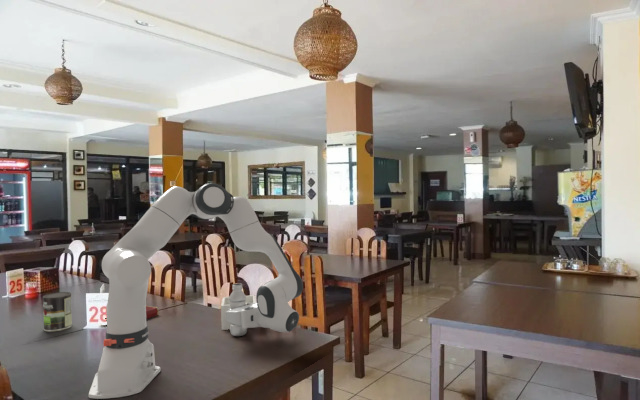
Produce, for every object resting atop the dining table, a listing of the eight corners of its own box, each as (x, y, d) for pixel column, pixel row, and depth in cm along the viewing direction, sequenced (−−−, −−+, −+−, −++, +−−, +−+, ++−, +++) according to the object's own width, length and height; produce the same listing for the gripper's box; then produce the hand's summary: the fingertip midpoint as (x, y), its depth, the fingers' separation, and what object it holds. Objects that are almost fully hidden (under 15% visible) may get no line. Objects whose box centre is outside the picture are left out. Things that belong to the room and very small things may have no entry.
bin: (256, 327, 170) (255, 303, 170) (221, 330, 167) (220, 305, 167) (255, 317, 184) (255, 295, 183) (223, 319, 181) (222, 297, 181)
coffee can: (52, 333, 168) (51, 298, 168) (38, 329, 173) (37, 296, 173) (77, 325, 177) (76, 293, 177) (63, 322, 182) (62, 291, 182)
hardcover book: (158, 316, 190) (158, 307, 190) (117, 329, 172) (117, 319, 172) (141, 313, 196) (140, 304, 196) (99, 326, 178) (99, 316, 178)
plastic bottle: (243, 338, 157) (242, 286, 157) (227, 337, 158) (225, 286, 158) (249, 332, 163) (248, 282, 163) (233, 332, 165) (232, 282, 164)
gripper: (282, 299, 159) (258, 294, 168) (240, 311, 144) (216, 305, 153) (282, 315, 159) (258, 309, 168) (240, 329, 144) (216, 322, 153)
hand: (238, 307), depth 160 cm, fingers open, 8 cm apart
